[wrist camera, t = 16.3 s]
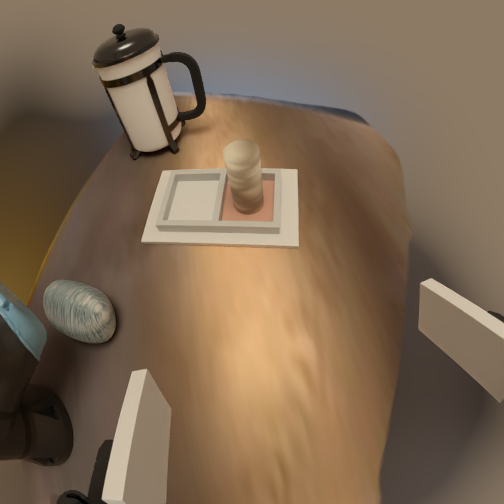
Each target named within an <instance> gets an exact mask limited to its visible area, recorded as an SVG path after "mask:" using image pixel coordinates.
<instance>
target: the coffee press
mask: <svg viewBox="0 0 504 504" xmlns="http://www.w3.org/2000/svg"><path fill="white" fill-rule="evenodd" d="M124 29H125V27H124V26H123V25H122V24H117V25H115V26H114V27H113V31H112V32H113V33H114V34H115V36H113V37H111V38H109V39H108V40H106V41H105V42H103V43H102V44H101V45H100V46H99V47H98V48H97V49H96V51H95V53H94V60H93V62H92V63H93V70H94V71H95V70H98V72H99V74H100V80H101V82H102V84H103V86H104V88H105V90H106V93H107V95H108V97H109V99H110V102H111V104H112V106H113V109H114V110H115V113H116V115H117V117H118V119H119V121H120V123H121V126H122V127H123V130H124V132H125V134H126V136H127V138H128V141H129V143H130V145H131V153H130V156H131V158H133V159H134V160H136V159H138V157H139V155H140V153H141V151H143V152H151V151H156V150H159V149H162V148H164V147H166V146H167V147H168V148H169V149H170V151H171V152H172V153H173V154H174V153H176V152H177V151H179V148H178V146H177V145H176V143H175V142H174V140H175V139H176V138H177V137H178V135H179V134H180V131H181V126H184V125H185V120H190V119H194V118H196V117H198V116H200V115H201V114H202V113H203V111H204V109H205V106H206V96H205V91H204V87H203V81H202V77H201V73H200V69H199V66H198V64H197V62H196V61H195V60H194V59H193V58H192V57H191V56H190V55H188V54H186V53H181V52H173V53H170V54H167V55H163V54H162V52H161V50H160V48H159V44H158V42H159V37H158V35H157V34H155V33H154V32H153V31H152V30H151V29H148V28H136V29H131V30H127V31H124ZM166 62H181V63H183V64H185V65H186V66H187V67H188V69H189V71H190V74H191V78H192V82H193V86H194V91H195V95H196V99H197V107H196V108H195V109H194V110H191V111H187V112H179V110H178V108H177V106H176V104H175V100H174V97H173V93H172V90H171V87H170V83H169V80H168V76H167V73H166V70H165V66H164V63H166ZM134 148H135V149H137V152H136V155H135V156H134V152H135V149H134Z"/></svg>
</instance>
